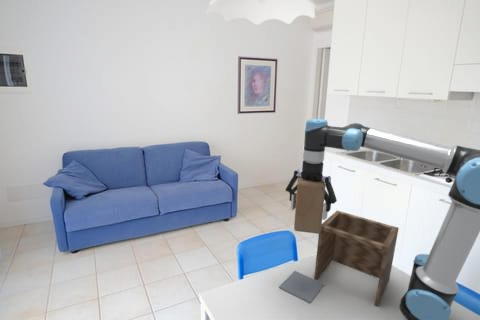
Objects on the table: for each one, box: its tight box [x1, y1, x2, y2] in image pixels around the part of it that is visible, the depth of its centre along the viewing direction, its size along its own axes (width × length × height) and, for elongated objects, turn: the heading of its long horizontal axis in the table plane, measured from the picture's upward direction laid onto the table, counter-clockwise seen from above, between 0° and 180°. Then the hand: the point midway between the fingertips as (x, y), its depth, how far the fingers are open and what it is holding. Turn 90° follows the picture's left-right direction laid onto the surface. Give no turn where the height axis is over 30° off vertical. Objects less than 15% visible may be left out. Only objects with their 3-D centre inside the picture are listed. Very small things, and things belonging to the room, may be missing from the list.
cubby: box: [313, 210, 400, 308], centre depth 123 cm, size 26×20×26 cm
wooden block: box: [293, 175, 326, 235], centre depth 112 cm, size 10×10×20 cm
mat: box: [278, 270, 325, 304], centre depth 122 cm, size 14×14×1 cm
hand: (308, 213), depth 113 cm, fingers open, 13 cm apart
